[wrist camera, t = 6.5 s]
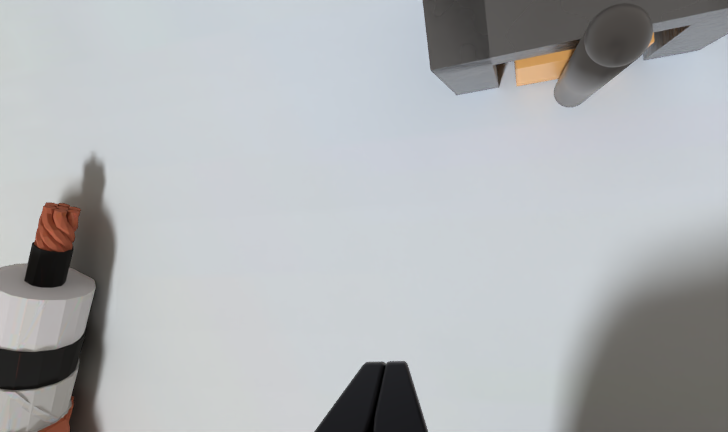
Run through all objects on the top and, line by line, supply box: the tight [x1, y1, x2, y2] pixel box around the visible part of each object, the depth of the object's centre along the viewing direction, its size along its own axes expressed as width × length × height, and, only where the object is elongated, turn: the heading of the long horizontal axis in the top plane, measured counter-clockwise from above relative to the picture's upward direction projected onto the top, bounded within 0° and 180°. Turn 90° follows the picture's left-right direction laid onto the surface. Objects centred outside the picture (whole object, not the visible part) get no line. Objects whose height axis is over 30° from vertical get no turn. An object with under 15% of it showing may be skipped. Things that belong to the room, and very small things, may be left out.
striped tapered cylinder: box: [0, 203, 96, 432], centre depth 31 cm, size 10×34×10 cm, turn 162°
